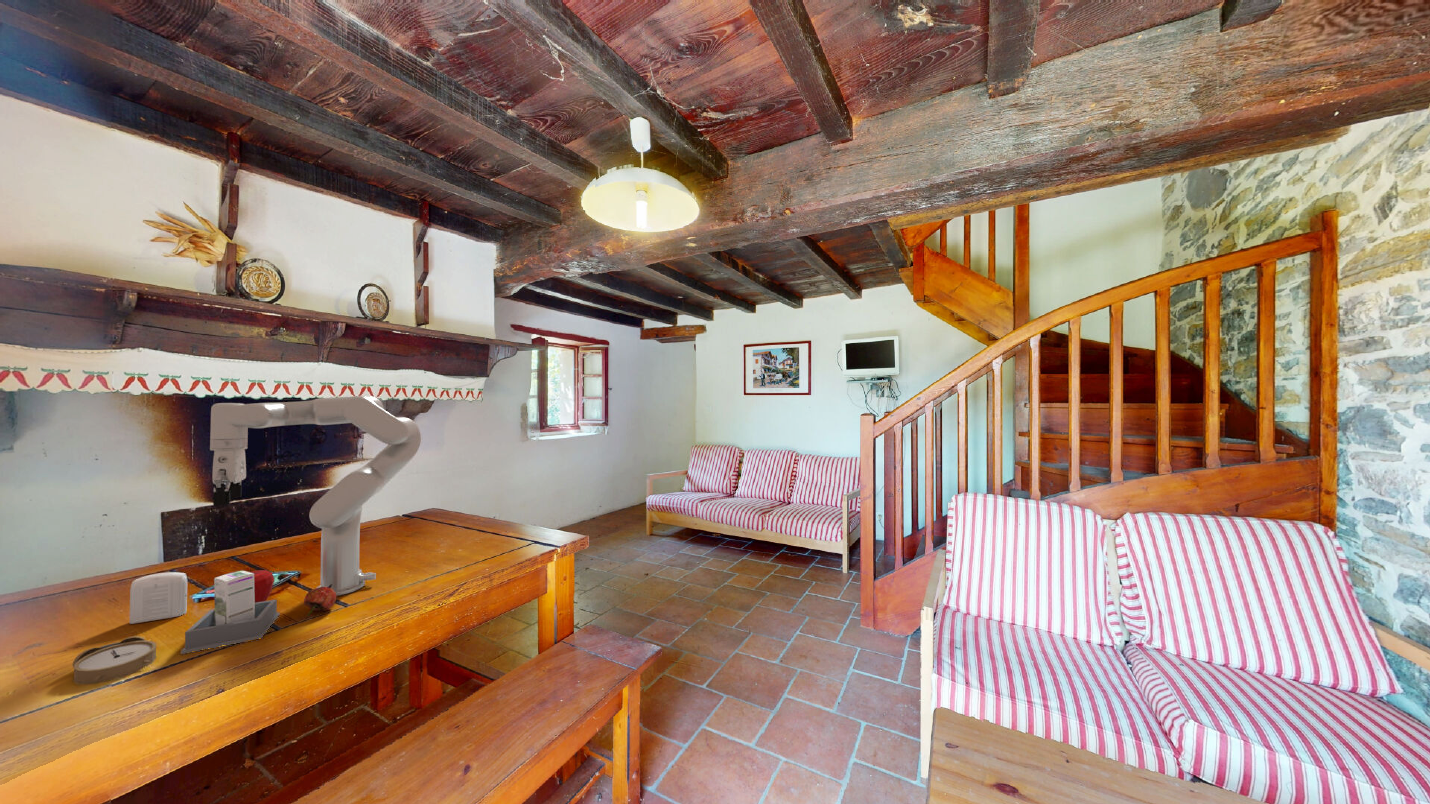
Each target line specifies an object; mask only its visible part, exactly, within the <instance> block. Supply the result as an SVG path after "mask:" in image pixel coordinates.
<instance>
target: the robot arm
mask: <svg viewBox="0 0 1430 804" xmlns="http://www.w3.org/2000/svg"><path fill="white" fill-rule="evenodd" d="M210 409H211V410H210V439H209V442H210V443H209V444H210V445H209V450H210V451H214V452H213V460H212V461H213V462H212V477H211V478H212V483H213V498H212V501H213V502H212V503H213V504H212V505H213V506H214V507H217V506H220V507H221V506H229V505H230V503H231V499H232V500H233V499H234V500H235V499H241V498H242V488H243V487H242V481H244V480H245V479H246V478H247V464H246V463H247V462H246V461H247V459H246V450H247V449H248V439H249V438H248V435H249V432H248V431H249V430H248V429H265V428H272V427H282V426H284V427H285V426H296V425H318V426H327V425H328V426H329V425H341V424H352V425H353V426H355V427H357V428H358V429H360V430H362V431H363V432H364V433H366V434H368V435H369V436H371V437H373V438H374V439H375V440H378V441H379V442H381V443H383V444H385V445H387V446H385V447H384V448H383V449H382V450H380V451H379V452H378V453H377V454H376V455H375V457H373V458H372V459H371V460H370V461H368V462H367V463H365V465H363V466H361V467H360V468H358V469H356V470H354V471H351V472H350V473H348V474H347V475H345V476H344V477H343V478H341V480H339V481H338V482H337V483H336V484H334V486H333V487H331V488H330V489H329V490H328V491H326V493H324V495H322V496H321V497H320V498H319V499H317V500H316V501H315V503H314V504H313V505H312V506H311V508H310V510H309V515H308V516H309V520H310V522H311V524H313V526H314V527H317V528H318V529H321V534H320V535H321V536H320V537H321V539H320V585H319V586H317V587H316V588H319V587H328V586H330V584H332V586H331V588H332V589H333V591H334V592H335V593H336V597H337V596H342V595H343V596H344V595H346V594H350V593H353V592H356V591H358V590H360V589H361V588H363V587H364V586H365V584H366V581H372V580H376V578H377V577H376V575H377V573H376V572H374V573H373V572H372V571H370V572H365V573H364V572H362V568H360V534H361V532H360V531H361V519H362V518H361V517H362V511H363V505H365V503H366V502H368V501H369V500H370V499H371V498H372V497H374V496H375V495H376V494H378V493H380V491H382V490H383V489H384V488H385V486H386V485H387V484H388V483H389V482H390V481H391V480H392V479H393V478H394V477H395V476H396V475H398V473H399V472H400V471H401V470H403V468H404V467H405V466H407V465H408V464H409V462H411V460H413V458H414V457H415V456H416V454H417V453H418V451H419V448H420V445H421V443H422V442H421V440H422V435H421V430H420V428H419V426H418V424H417V423H416V422H415V421H414V420H412V419H411V418H408V417H404V416H399V417H396V416H394V415H393V414H391V413H390V412H388V411H386V410H385V409H384V405H383V403H382V401H381V400H380V399H378V398H377V397H375V396H371V395H357V396H341V397H321V398H316V399H312V400H304V401H303V400H301V401H287V402H285V401H283V402H258V403H256V402H255V403H246V404H245V403H241V402H237V403H236V402H220V403H219V402H218V403H213V405H212V406H211V408H210Z"/></svg>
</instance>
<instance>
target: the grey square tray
mask: <svg viewBox="0 0 1430 804" xmlns="http://www.w3.org/2000/svg"><path fill="white" fill-rule="evenodd" d="M277 602H278V600H277V599H271V600H266V601H263V602H257V603H255V619H252V620H246V621H241V622H235V623H229V624H223V625H217V626H215V608H214V609H210V610H209V611H207V612H206V613H205V614H204V615H202V617H200V619H199V620H198V621H196V622H195V623H194V624H193V625H192V626H191V627H189V629H187V630H185V632H184V633H185V634H184V636H185V637H184V639H185V640H184V644H185V645H184V647H183V648H181V650H180V655H181V654H183V655H186V654H185V653H188V652H192V651H198V652H200V651H199V650H202V649H203V650H204V649H208V648H214V649H217V648H216V647H219V646H222V645H230V644H234V643H240V642H243V641H246V640H254V639H259V638H262V637H263V635H264V634H265V633H266V631H267V630H268V629H269V628H270V626H271V625H272V624H273V622H274V621H275V620H276V619H277V618H278V619H279V617H280V616H279V615H281V613H280V612H278V611H277V610H278V609H277V605H278V603H277ZM278 616H279V617H278ZM278 619H277V620H278ZM277 620H276V621H277ZM276 621H275V622H276ZM275 622H274V623H275ZM273 625H274V624H273ZM273 625H272V626H273ZM272 626H271V627H272ZM270 629H271V628H270ZM270 629H269V630H270ZM269 630H268V631H269ZM266 634H267V633H266ZM266 634H265V635H266ZM263 638H264V637H263ZM263 638H262V639H263ZM240 644H241V643H240ZM230 646H231V645H230ZM219 648H220V647H219ZM204 651H205V650H204ZM188 654H189V653H188Z"/></svg>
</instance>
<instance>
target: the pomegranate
mask: <svg viewBox="0 0 1430 804" xmlns="http://www.w3.org/2000/svg"><path fill="white" fill-rule="evenodd" d="M331 586H332V584H330V586H328V587H319V588H317V587H316V588H312V589H311V590H310V591H308V592H307V593H306V595H305V596H304V599H303V605H304V606H306V607H308V608H309V609H310V610H309V612H308V614H307V615H306V616H309V615H310V614H311V613H312V612H313V611H314V612H315V611H317V612H319V611H323V612H325V611H328V610H330V609H331V608H333V606H334V604H336V601H337V596H336V593H335V592H334V591H333V589H332V588H331Z"/></svg>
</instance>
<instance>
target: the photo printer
mask: <svg viewBox="0 0 1430 804" xmlns="http://www.w3.org/2000/svg"><path fill="white" fill-rule="evenodd" d="M129 589H130V591H129V593H130V596H129V624H130V625H131V624H132V625H133V624H139V623H145V622H150V621H151V622H152V621H157V620H163V619H170V618H171V619H172V618H175V617H181V615H182V616H184V615H186V613H187V611H188V610H187V607H188V602H187V601H188V576H187V574H186V573H184V572H173V571H172V572H171V571H170V572H161V573H160V572H159V573H153V574H149V575H145V576H141V577H140V578H137V579H134V580H132V583H131V586H130V588H129ZM183 614H184V615H183Z"/></svg>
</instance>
